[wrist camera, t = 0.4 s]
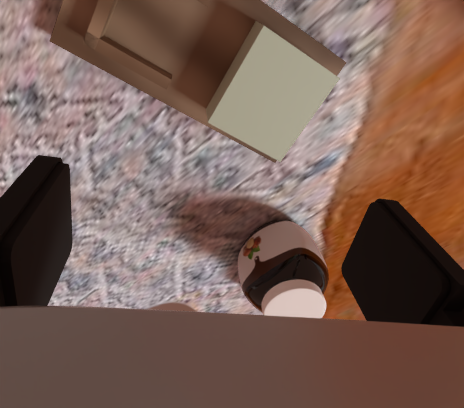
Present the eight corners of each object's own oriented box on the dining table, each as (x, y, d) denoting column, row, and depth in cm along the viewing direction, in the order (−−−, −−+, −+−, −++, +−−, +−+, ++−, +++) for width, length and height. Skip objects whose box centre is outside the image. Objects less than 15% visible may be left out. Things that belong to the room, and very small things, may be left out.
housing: (106, -110, 27) (94, -122, 24) (338, 58, 36) (354, 66, 32) (56, 37, 32) (41, 44, 29) (271, 155, 41) (279, 171, 37)
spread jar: (286, 203, 44) (314, 266, 35) (333, 253, 50) (368, 320, 40) (215, 256, 48) (222, 327, 38) (265, 297, 53) (283, 369, 43)
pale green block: (256, 20, 31) (264, 25, 28) (325, 68, 34) (339, 78, 31) (206, 108, 35) (207, 122, 32) (272, 145, 38) (280, 161, 34)
